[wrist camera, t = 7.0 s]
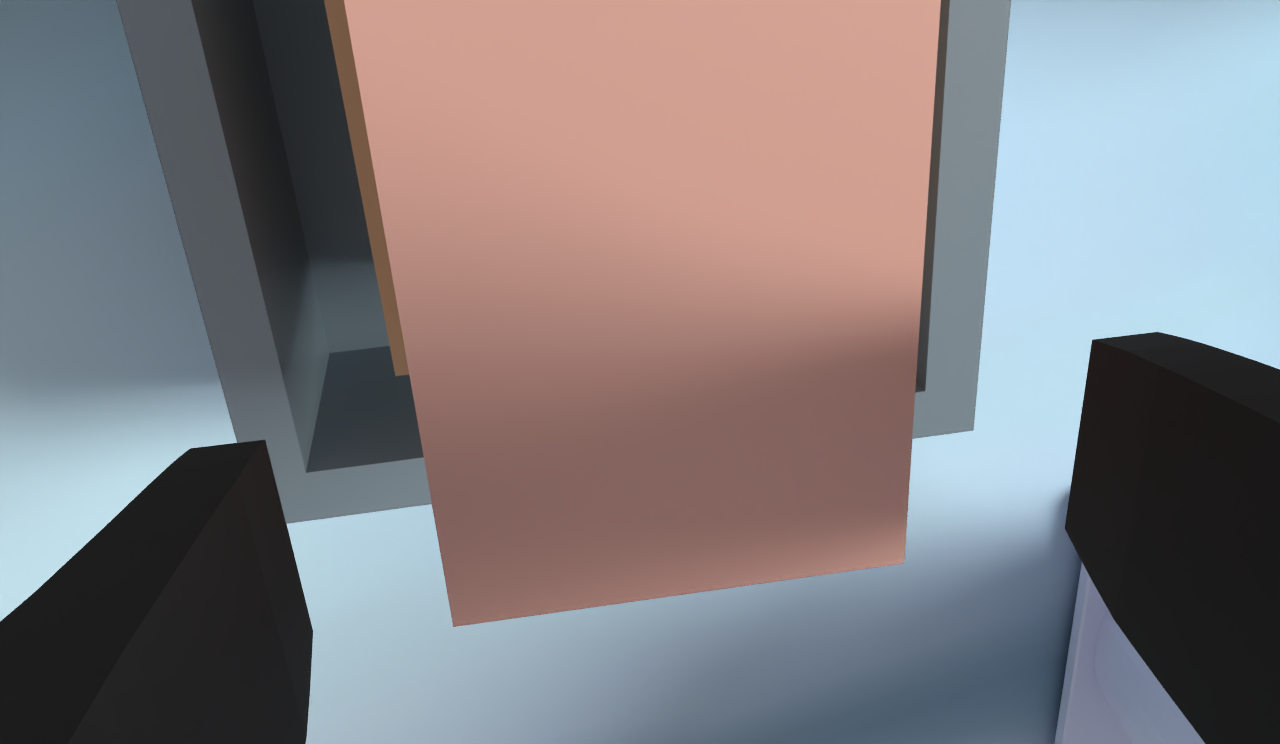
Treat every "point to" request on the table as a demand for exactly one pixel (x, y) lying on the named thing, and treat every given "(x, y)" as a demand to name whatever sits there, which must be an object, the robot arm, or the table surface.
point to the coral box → (654, 284)
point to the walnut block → (366, 177)
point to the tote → (342, 257)
